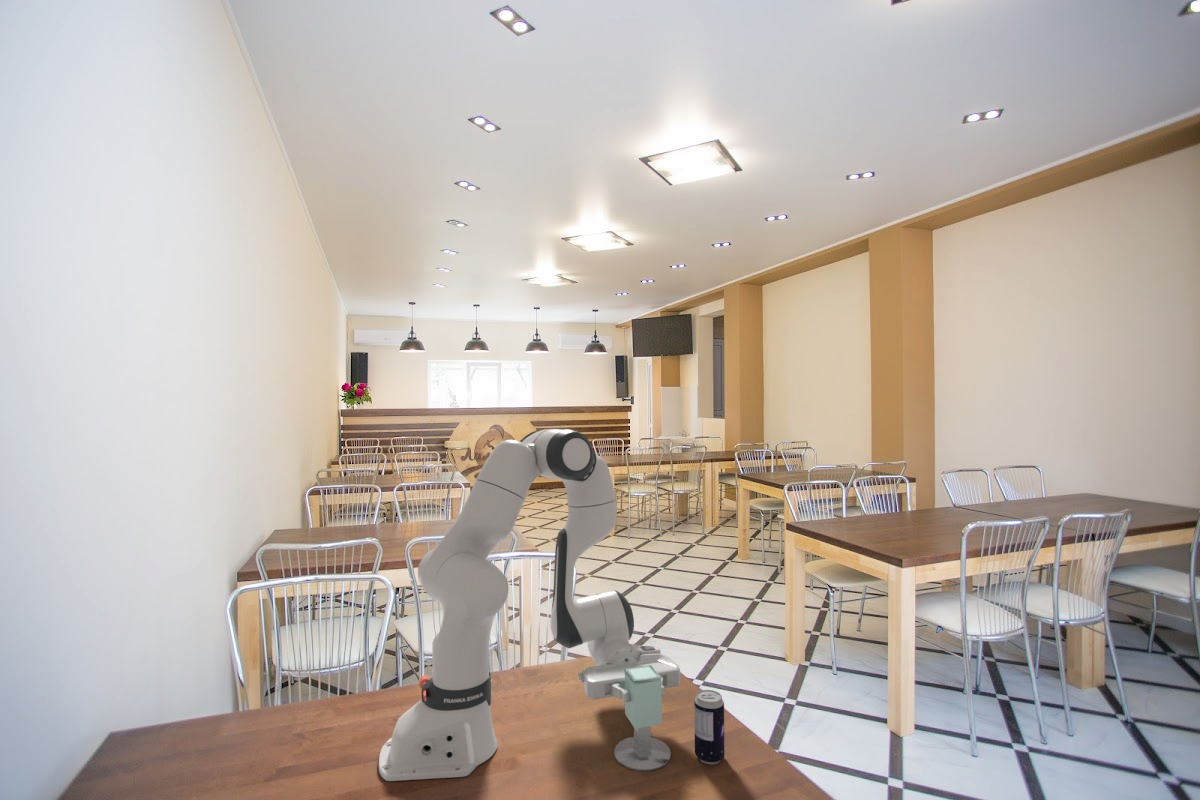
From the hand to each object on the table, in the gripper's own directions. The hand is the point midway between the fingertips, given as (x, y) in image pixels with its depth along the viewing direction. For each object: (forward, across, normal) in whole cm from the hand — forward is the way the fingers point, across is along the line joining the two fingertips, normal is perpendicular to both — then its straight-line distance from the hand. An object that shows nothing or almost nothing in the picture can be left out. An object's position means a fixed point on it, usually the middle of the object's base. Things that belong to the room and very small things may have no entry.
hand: (644, 695), depth 116 cm
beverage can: (+4, +12, +12) cm, 17 cm away
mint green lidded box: (-1, 0, +5) cm, 5 cm away
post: (-1, 0, +12) cm, 12 cm away
